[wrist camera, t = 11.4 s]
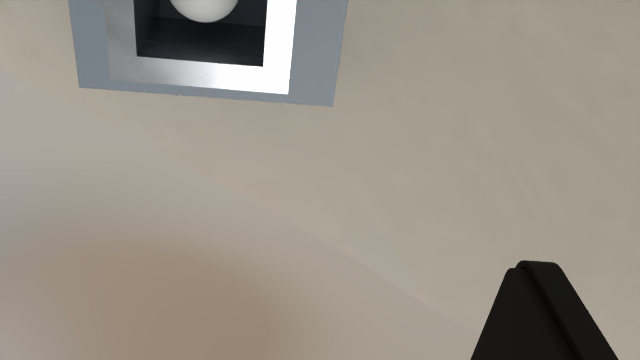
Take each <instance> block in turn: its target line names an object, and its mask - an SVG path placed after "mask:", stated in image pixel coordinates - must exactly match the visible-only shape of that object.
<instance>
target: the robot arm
mask: <svg viewBox="0 0 640 360" xmlns="http://www.w3.org/2000/svg"><path fill="white" fill-rule="evenodd" d="M471 360H618V358H617V357H616V355H615V353H614V352H613V350H612V349H611V347H610V345H609V344H608V342H607V341H606V339H605V337H604V336H603V334H602V333H601V331H600V329H599V328H598V326H597V325H596V323H595V321H594V320H593V318H592V317H591V315H590V314H589V312H588V310H587V309H586V307H585V306H584V304H583V302H582V301H581V299H580V298H579V296H578V294H577V293H576V291H575V290H574V288H573V286H572V285H571V283H570V282H569V280H568V279H567V277H566V275H565V274H564V272H563V271H562V269H561V268H560V267H559V265H558V264H556V263H553V262H539V261H525V260H524V261H520V262H519V263H518V264H517V266H516V267H515V268H510V269H509V270H507V272H506V274H505V276H504V279H503V281H502V284H501V286H500V289H499V291H498V294H497V296H496V299H495V301H494V303H493V306H492V308H491V311H490V313H489V316H488V318H487V321H486V323H485V326H484V328H483V330H482V333H481V335H480V338H479V341H478V343H477V345H476V348H475V350H474V353H473V355H472V357H471Z"/></svg>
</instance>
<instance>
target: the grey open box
mask: <svg viewBox="0 0 640 360" xmlns="http://www.w3.org/2000/svg"><path fill="white" fill-rule="evenodd" d="M103 2H104V13H105V24H106V35H107V47H108V58H109V69H110V80H118V81H131V82H143V83H156V84H168V85H181V86H193V87H206V88H218V89H231V90H243V91H256V92H268V93H281V94H288V85H289V74H290V64H291V53H292V42H293V32H294V21H295V11H296V0H267V1H266V17H265V27H263V26H253V25H242V24H232V23H221V22H198V21H194V20H190V19H179V18H168V17H160V0H103Z"/></svg>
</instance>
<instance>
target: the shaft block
mask: <svg viewBox="0 0 640 360" xmlns="http://www.w3.org/2000/svg"><path fill="white" fill-rule="evenodd" d="M68 1H69V9H70V17H71V25H72V33H73V41H74V49H75V57H76V65H77V73H78V81H79V87H80V88H93V89H106V90H120V91H133V92H146V93H159V94H172V95H186V96H199V97H212V98H225V99H238V100H252V101H265V102H278V103H291V104H304V105H318V106H331V107H333V102H334V95H335V88H336V80H337V73H338V66H339V59H340V52H341V45H342V38H343V31H344V23H345V16H346V9H347V2H348V0H296V11H295V21H294V32H293V42H292V53H291V64H290V74H289V85H288V94H281V93H268V92H256V91H243V90H231V89H218V88H206V87H193V86H181V85H168V84H156V83H143V82H131V81H118V80H110V69H109V58H108V47H107V35H106V24H105V13H104V2H103V0H68ZM266 1H267V0H160V17H168V18H179V19H190V20H194V21H198V22H221V23H232V24H242V25H253V26H263V27H265V17H266Z"/></svg>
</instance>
